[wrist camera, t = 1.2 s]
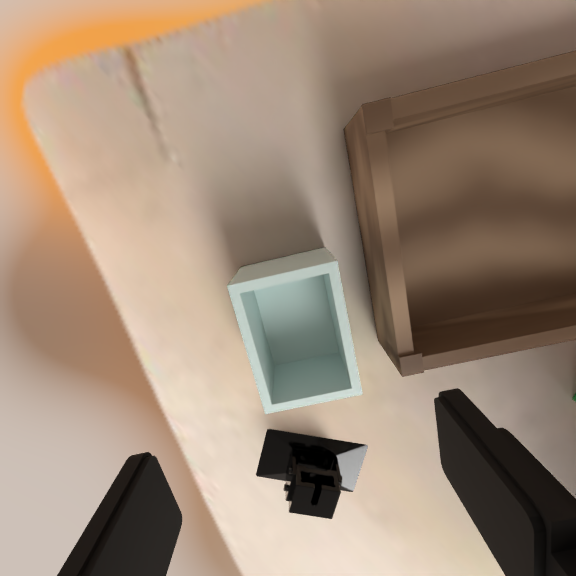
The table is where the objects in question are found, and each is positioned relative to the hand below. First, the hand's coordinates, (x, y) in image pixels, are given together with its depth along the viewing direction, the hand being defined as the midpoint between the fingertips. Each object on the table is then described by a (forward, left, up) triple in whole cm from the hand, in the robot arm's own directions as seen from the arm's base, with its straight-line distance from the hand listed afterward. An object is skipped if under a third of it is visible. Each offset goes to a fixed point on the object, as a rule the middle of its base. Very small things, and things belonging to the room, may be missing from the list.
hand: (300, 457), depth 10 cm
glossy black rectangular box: (-15, +2, -15) cm, 21 cm away
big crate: (+4, -16, -14) cm, 22 cm away
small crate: (0, 0, -14) cm, 14 cm away
